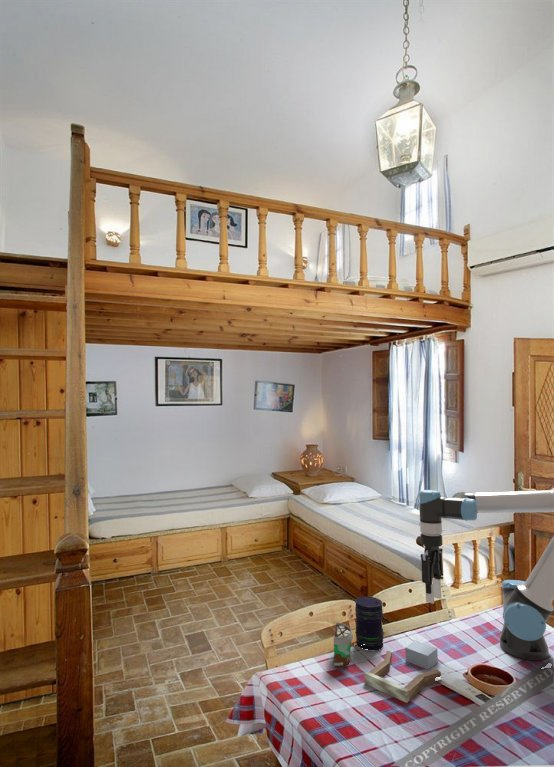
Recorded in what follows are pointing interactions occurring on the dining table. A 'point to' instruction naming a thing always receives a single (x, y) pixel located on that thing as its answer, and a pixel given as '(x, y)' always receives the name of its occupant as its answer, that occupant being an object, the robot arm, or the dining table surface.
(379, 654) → the dining table surface
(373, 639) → the storage jar
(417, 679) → the brown angular open frame
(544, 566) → the robot arm
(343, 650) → the food container
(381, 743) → the dining table surface
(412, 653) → the grey rectangular block
